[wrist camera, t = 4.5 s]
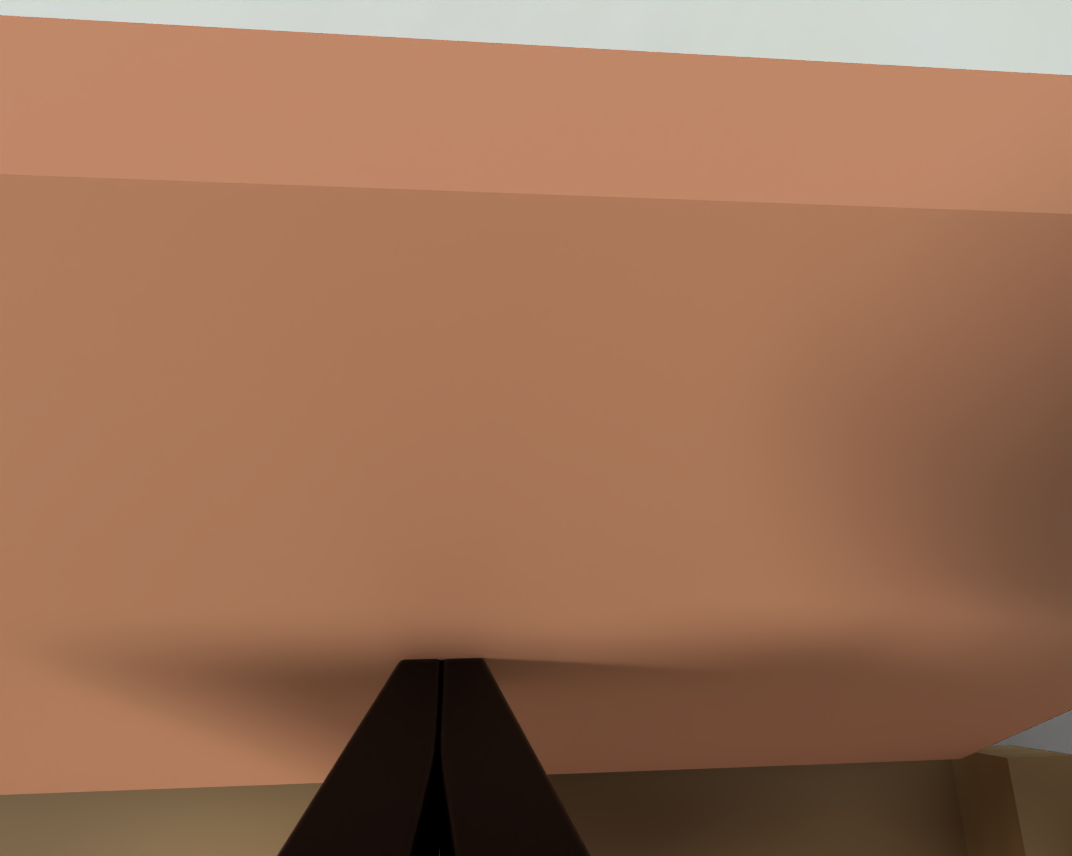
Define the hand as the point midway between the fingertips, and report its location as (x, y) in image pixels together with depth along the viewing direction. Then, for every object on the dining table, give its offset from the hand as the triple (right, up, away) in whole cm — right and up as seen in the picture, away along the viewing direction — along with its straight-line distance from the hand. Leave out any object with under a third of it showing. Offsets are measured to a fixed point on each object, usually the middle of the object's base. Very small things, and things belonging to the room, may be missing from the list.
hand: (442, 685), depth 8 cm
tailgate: (-1, -2, +5) cm, 5 cm away
